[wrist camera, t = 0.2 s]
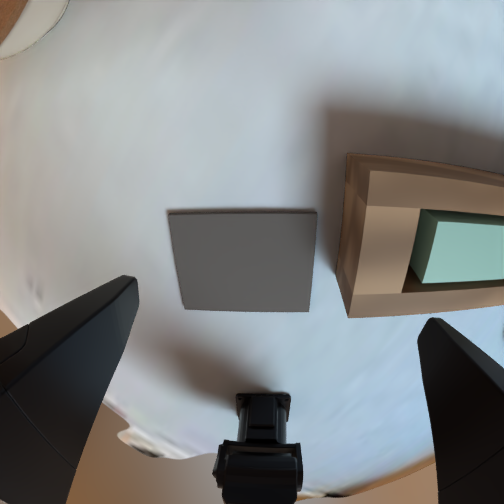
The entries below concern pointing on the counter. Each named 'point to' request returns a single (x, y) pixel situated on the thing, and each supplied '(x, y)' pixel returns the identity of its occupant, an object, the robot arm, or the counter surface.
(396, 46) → the counter surface
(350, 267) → the pocket board
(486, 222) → the teal slab
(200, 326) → the counter surface
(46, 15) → the lidded jar
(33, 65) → the counter surface
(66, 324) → the robot arm
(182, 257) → the rubber mat
